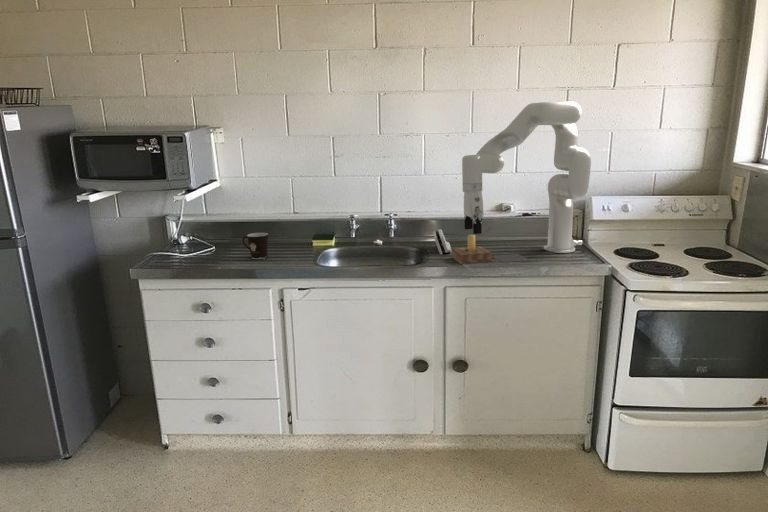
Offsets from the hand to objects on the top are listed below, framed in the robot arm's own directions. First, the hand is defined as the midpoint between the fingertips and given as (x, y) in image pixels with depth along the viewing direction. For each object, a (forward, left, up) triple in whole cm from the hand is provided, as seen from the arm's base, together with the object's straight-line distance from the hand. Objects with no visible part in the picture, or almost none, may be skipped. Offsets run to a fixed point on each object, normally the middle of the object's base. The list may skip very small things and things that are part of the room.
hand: (472, 231), depth 221 cm
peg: (+1, 0, -12) cm, 12 cm away
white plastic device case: (+6, -21, -12) cm, 25 cm away
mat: (-14, +3, -12) cm, 19 cm away
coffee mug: (+84, -31, -12) cm, 90 cm away
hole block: (+1, 0, -12) cm, 12 cm away
